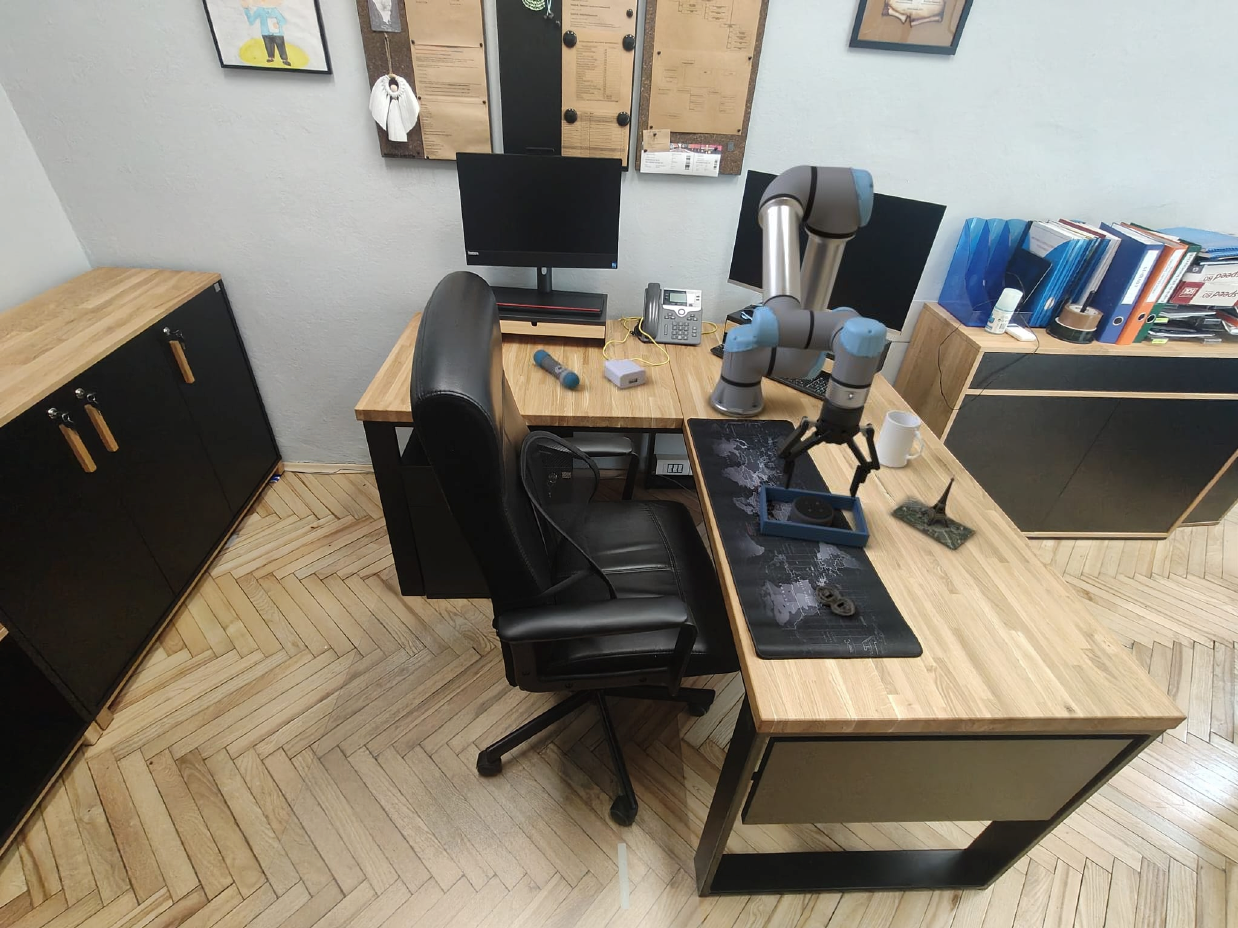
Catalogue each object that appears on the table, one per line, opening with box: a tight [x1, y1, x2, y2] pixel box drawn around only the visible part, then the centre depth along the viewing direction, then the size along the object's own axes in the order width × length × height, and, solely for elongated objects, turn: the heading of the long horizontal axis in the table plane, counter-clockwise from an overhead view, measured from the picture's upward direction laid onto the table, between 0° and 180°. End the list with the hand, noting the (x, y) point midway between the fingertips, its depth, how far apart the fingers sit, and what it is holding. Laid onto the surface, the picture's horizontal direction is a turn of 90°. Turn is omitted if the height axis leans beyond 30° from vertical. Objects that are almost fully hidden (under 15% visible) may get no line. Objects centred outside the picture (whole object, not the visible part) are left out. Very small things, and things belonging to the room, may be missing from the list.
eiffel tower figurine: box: [890, 474, 976, 551], centre depth 128 cm, size 15×10×13 cm
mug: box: [875, 409, 925, 469], centre depth 148 cm, size 12×8×12 cm
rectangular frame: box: [758, 484, 871, 548], centre depth 129 cm, size 13×22×4 cm, turn 81°
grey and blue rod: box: [532, 349, 581, 390], centre depth 181 cm, size 5×22×5 cm, turn 35°
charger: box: [603, 358, 647, 389], centre depth 184 cm, size 5×9×15 cm
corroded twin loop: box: [815, 585, 856, 617], centre depth 110 cm, size 5×8×1 cm, turn 34°
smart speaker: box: [789, 496, 835, 528], centre depth 129 cm, size 9×9×4 cm
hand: (818, 489), depth 125 cm, fingers open, 13 cm apart
